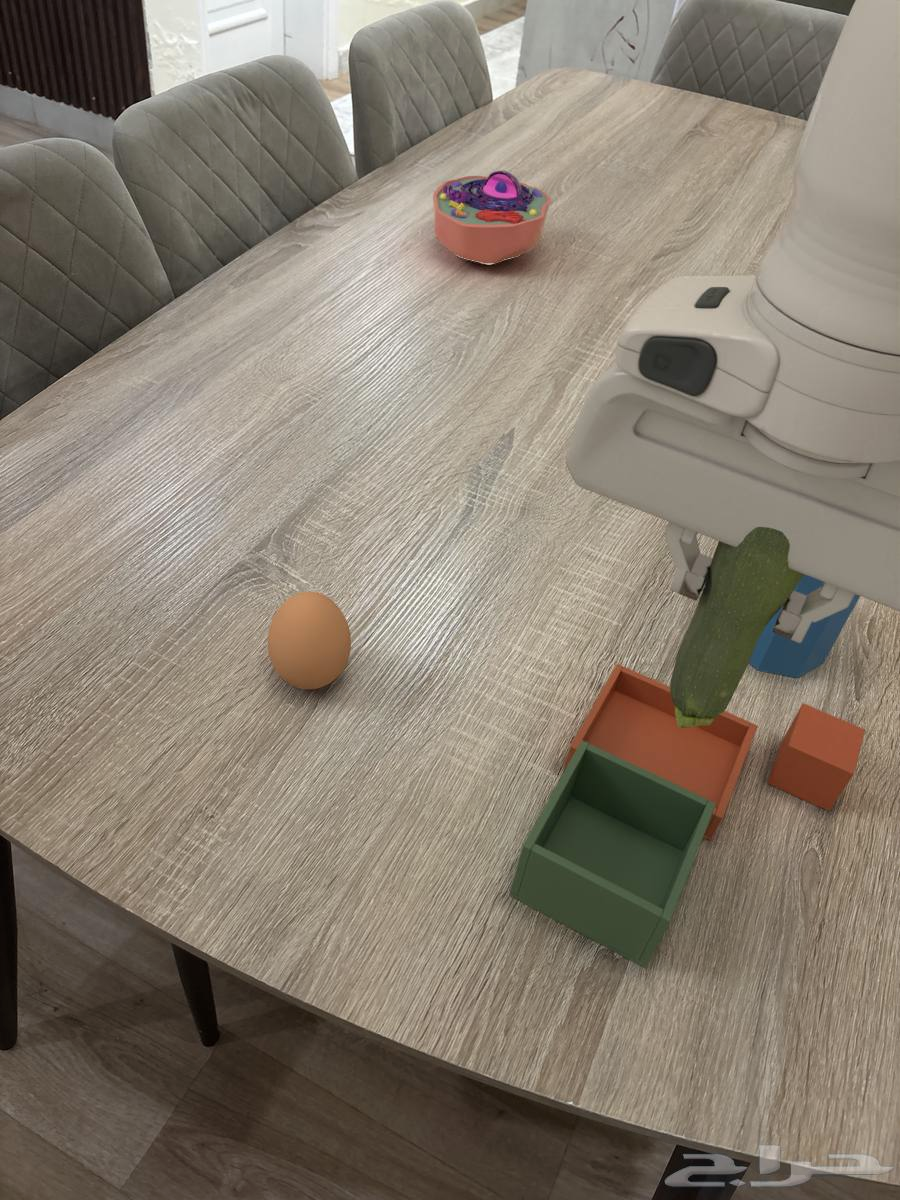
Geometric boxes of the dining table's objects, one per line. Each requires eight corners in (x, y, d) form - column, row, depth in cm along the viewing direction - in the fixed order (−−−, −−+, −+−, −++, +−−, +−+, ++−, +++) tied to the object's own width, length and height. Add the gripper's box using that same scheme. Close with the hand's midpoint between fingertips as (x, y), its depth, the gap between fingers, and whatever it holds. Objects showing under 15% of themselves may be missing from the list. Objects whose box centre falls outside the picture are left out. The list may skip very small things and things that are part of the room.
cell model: (399, 257, 138) (404, 178, 130) (474, 219, 150) (483, 145, 143) (496, 296, 132) (507, 215, 124) (565, 253, 144) (579, 177, 137)
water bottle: (807, 694, 82) (937, 461, 65) (708, 646, 85) (808, 411, 68) (837, 634, 88) (963, 405, 71) (744, 591, 91) (843, 362, 74)
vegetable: (653, 682, 55) (759, 384, 41) (726, 688, 55) (856, 393, 41) (664, 743, 52) (782, 441, 38) (741, 749, 52) (887, 451, 38)
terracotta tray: (746, 748, 77) (758, 725, 75) (710, 840, 70) (722, 818, 68) (609, 686, 81) (617, 663, 79) (563, 769, 74) (570, 746, 72)
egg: (338, 715, 76) (340, 637, 69) (258, 700, 76) (253, 620, 70) (358, 656, 80) (361, 578, 74) (283, 642, 81) (279, 563, 74)
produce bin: (691, 852, 70) (716, 803, 65) (645, 968, 63) (670, 921, 58) (565, 791, 72) (581, 739, 68) (508, 895, 66) (522, 845, 61)
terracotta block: (841, 767, 77) (866, 729, 73) (829, 811, 73) (854, 774, 70) (781, 740, 78) (803, 702, 75) (766, 783, 75) (788, 745, 71)
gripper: (1116, 418, 37) (953, 654, 47) (636, 268, 43) (578, 505, 53) (1116, 498, 33) (937, 739, 43) (584, 320, 39) (532, 568, 48)
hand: (736, 609), depth 48 cm, fingers closed on vegetable, 4 cm apart
